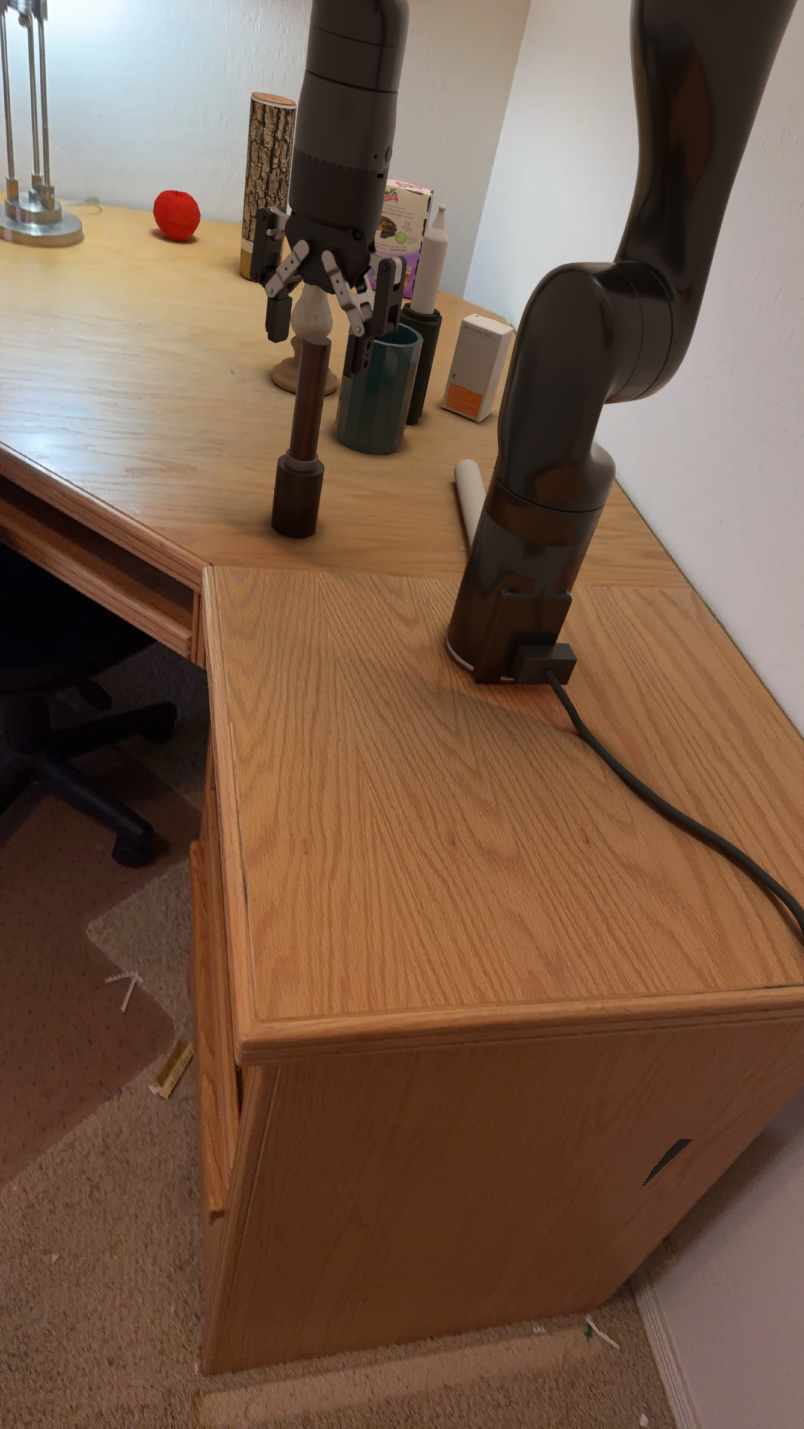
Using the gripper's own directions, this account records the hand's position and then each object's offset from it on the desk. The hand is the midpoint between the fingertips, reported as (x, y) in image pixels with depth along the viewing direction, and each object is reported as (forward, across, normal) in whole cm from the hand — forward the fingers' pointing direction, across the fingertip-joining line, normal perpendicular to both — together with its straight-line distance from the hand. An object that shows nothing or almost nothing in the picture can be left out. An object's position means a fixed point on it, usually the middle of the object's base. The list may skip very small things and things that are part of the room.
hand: (315, 357), depth 79 cm
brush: (+17, 0, 0) cm, 17 cm away
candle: (+18, -8, +34) cm, 39 cm away
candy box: (+18, -41, +76) cm, 88 cm away
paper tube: (+18, -53, +58) cm, 81 cm away
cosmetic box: (+18, -3, +43) cm, 47 cm away
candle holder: (+18, -22, +30) cm, 41 cm away
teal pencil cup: (+18, -7, +24) cm, 30 cm away
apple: (+18, -73, +60) cm, 96 cm away
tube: (+17, +14, +14) cm, 27 cm away
